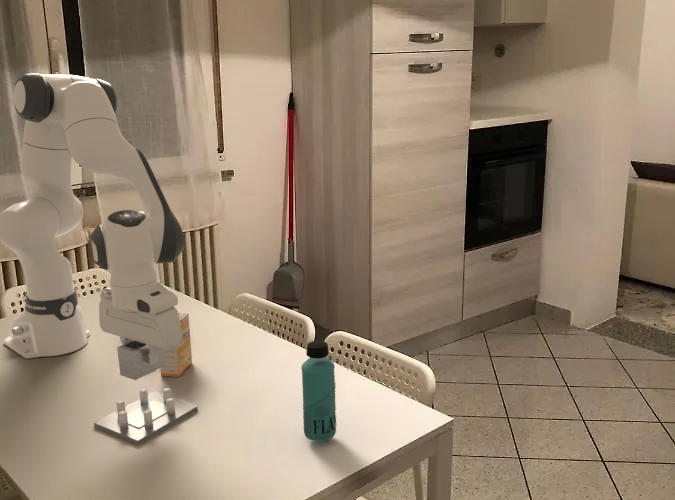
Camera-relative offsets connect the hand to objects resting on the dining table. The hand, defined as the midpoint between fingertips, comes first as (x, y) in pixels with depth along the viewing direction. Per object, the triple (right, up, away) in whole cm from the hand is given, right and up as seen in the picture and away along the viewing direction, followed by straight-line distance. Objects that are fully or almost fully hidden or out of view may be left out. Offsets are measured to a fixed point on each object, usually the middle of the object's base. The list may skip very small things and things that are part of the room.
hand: (142, 359), depth 141 cm
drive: (0, -2, +1) cm, 2 cm away
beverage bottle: (+36, -15, -6) cm, 39 cm away
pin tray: (0, -13, +3) cm, 13 cm away
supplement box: (+1, -7, +26) cm, 27 cm away
